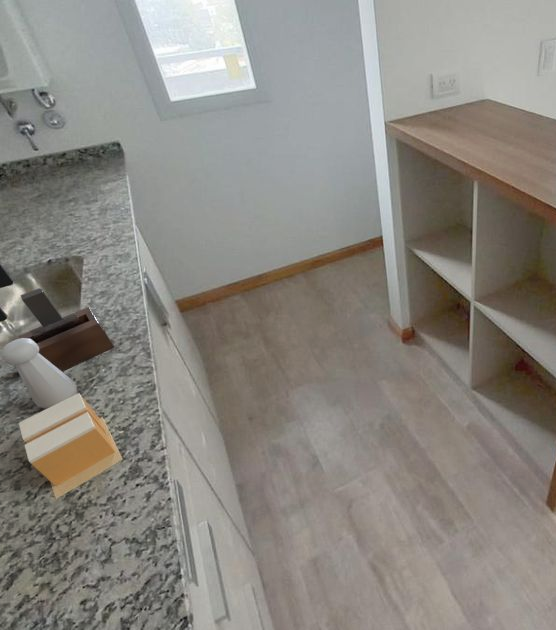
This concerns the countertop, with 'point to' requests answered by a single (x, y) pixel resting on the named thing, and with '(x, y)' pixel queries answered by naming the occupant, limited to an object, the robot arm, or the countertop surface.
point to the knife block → (74, 342)
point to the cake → (59, 417)
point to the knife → (48, 316)
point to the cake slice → (69, 449)
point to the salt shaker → (38, 373)
